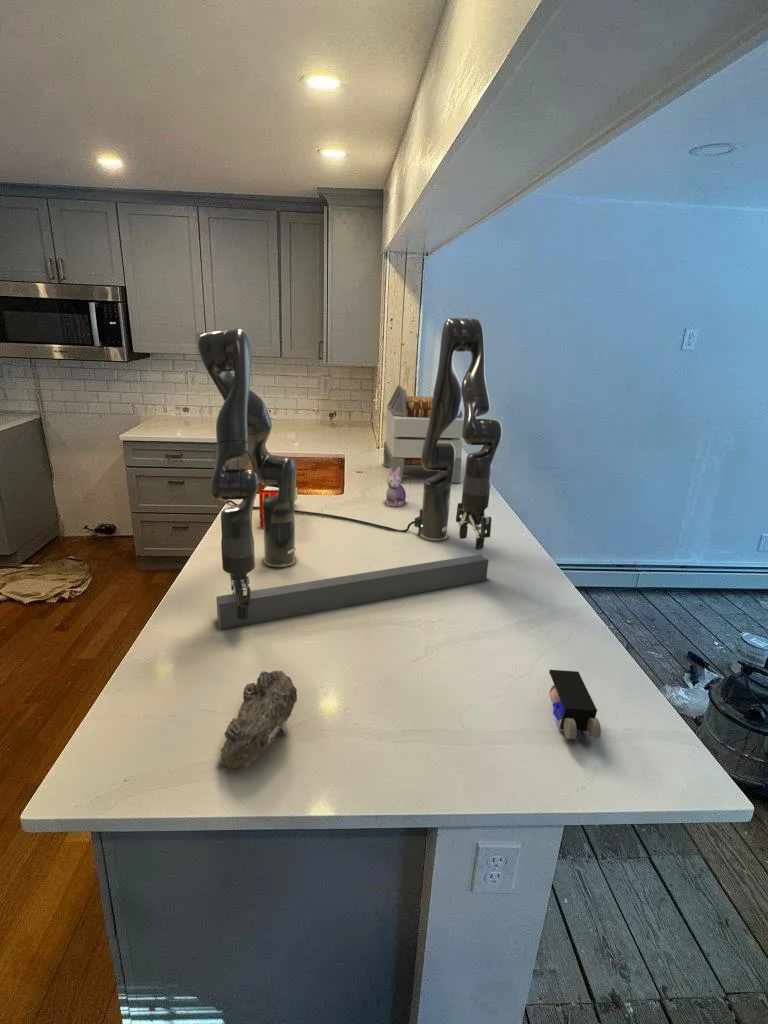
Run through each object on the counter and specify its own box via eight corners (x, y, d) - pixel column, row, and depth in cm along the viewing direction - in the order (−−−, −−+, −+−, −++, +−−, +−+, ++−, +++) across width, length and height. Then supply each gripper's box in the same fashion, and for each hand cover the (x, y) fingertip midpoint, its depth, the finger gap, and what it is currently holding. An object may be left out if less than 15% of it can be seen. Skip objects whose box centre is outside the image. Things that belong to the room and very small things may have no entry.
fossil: (239, 671, 114) (294, 639, 110) (270, 702, 117) (325, 672, 112) (196, 762, 95) (261, 727, 90) (236, 796, 98) (300, 764, 93)
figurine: (390, 508, 224) (392, 471, 219) (379, 500, 233) (380, 465, 228) (411, 505, 229) (413, 469, 223) (399, 498, 237) (401, 463, 232)
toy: (299, 478, 224) (289, 491, 195) (299, 512, 227) (289, 529, 198) (268, 478, 224) (253, 490, 194) (268, 511, 226) (254, 528, 197)
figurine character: (598, 755, 105) (572, 695, 118) (607, 725, 101) (580, 667, 115) (562, 754, 104) (541, 694, 118) (570, 724, 101) (547, 666, 114)
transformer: (382, 463, 289) (386, 382, 275) (445, 464, 293) (451, 384, 279) (390, 482, 257) (394, 392, 243) (460, 483, 261) (468, 394, 247)
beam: (478, 574, 172) (480, 554, 169) (486, 580, 168) (488, 559, 166) (217, 620, 141) (216, 596, 138) (220, 629, 137) (219, 604, 135)
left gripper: (216, 541, 139) (220, 603, 145) (227, 564, 127) (231, 631, 133) (247, 537, 142) (250, 598, 148) (260, 560, 130) (262, 625, 136)
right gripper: (451, 484, 163) (446, 536, 168) (479, 499, 151) (473, 555, 156) (473, 482, 166) (468, 533, 171) (502, 496, 154) (495, 551, 159)
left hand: (241, 613), depth 140 cm, fingers closed on beam, 4 cm apart
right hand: (470, 543), depth 164 cm, fingers open, 8 cm apart
